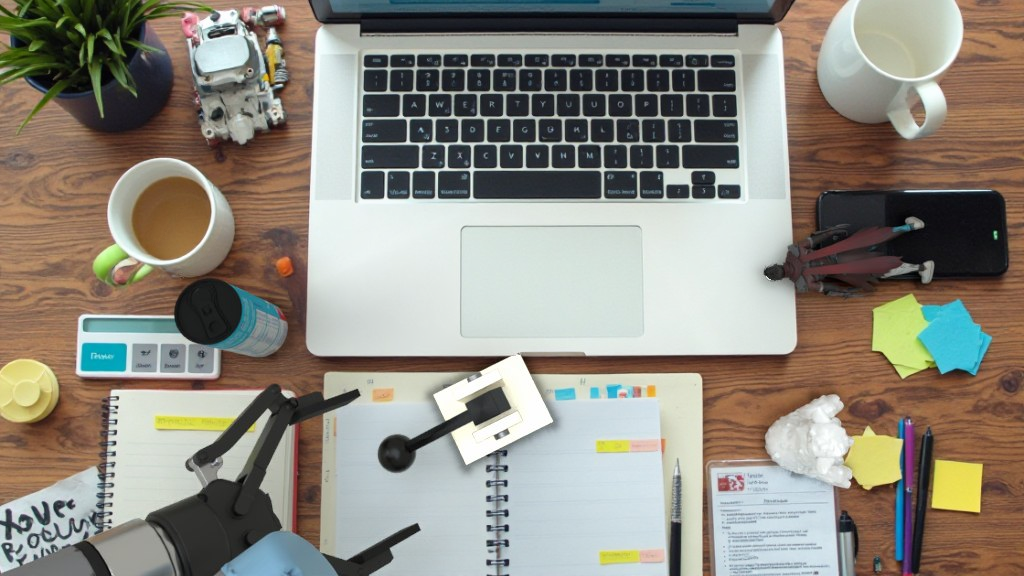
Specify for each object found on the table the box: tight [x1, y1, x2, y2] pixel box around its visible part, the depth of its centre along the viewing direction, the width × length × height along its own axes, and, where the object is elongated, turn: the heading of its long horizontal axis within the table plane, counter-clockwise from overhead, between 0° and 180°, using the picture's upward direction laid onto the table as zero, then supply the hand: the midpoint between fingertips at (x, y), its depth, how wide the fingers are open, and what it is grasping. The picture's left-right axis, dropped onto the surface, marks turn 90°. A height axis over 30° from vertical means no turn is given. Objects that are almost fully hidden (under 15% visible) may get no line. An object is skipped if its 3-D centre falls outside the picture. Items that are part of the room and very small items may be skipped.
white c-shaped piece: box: [432, 354, 554, 466], centre depth 73 cm, size 10×8×15 cm
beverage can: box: [173, 277, 289, 358], centre depth 75 cm, size 6×6×15 cm
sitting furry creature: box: [764, 393, 855, 490], centre depth 74 cm, size 10×9×12 cm
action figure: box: [762, 216, 935, 301], centre depth 80 cm, size 8×6×18 cm
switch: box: [377, 387, 511, 474], centre depth 70 cm, size 14×4×4 cm, turn 117°
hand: (381, 462), depth 73 cm, fingers open, 13 cm apart
